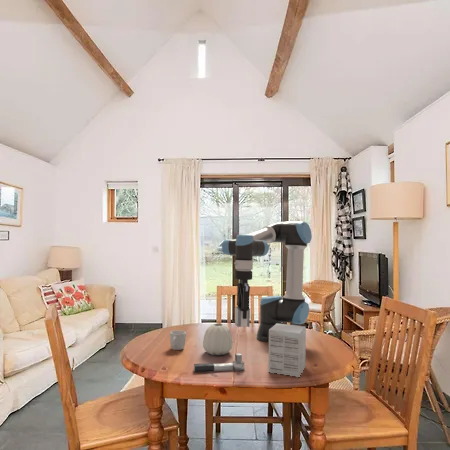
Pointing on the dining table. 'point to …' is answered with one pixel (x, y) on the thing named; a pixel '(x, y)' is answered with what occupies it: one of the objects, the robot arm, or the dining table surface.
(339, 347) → the dining table surface
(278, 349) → the supplement box
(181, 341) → the cup
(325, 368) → the dining table surface
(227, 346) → the vase
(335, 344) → the dining table surface
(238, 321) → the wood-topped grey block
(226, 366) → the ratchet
